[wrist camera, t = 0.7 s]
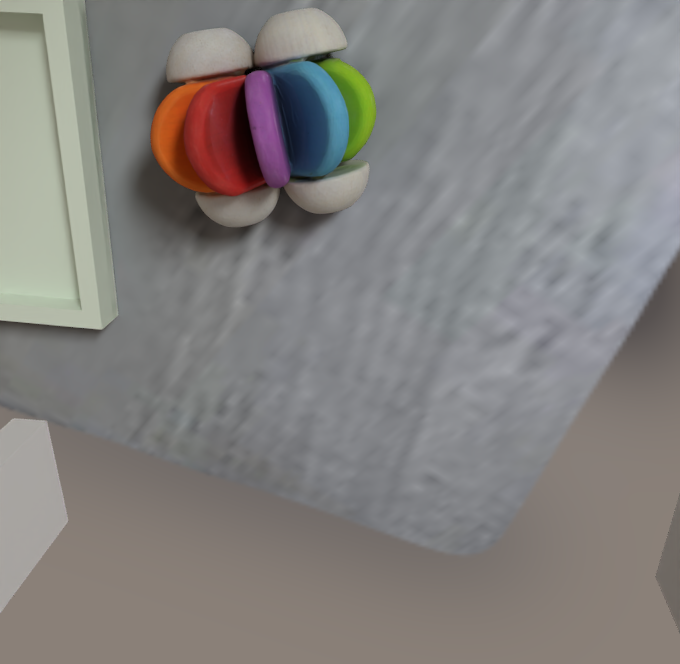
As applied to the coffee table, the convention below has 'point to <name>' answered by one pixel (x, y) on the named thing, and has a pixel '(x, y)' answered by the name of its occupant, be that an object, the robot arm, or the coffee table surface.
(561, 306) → the coffee table surface
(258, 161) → the rainbow lobed toy
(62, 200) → the tray
